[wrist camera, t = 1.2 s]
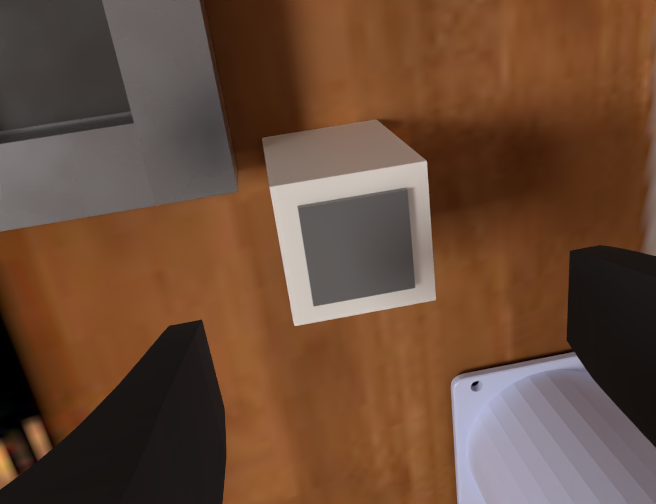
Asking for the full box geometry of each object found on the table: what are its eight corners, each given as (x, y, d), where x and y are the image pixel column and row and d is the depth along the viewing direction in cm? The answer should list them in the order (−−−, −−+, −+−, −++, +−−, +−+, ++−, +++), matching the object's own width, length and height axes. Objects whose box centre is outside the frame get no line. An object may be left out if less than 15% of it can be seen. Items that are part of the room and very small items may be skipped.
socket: (160, -221, 16) (147, -260, 14) (238, 171, 20) (237, 191, 18) (-271, -174, 15) (-363, -206, 13) (-94, 225, 19) (-138, 254, 17)
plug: (376, 119, 20) (428, 163, 15) (386, 226, 22) (437, 303, 16) (261, 137, 20) (270, 189, 14) (280, 244, 22) (294, 329, 16)
